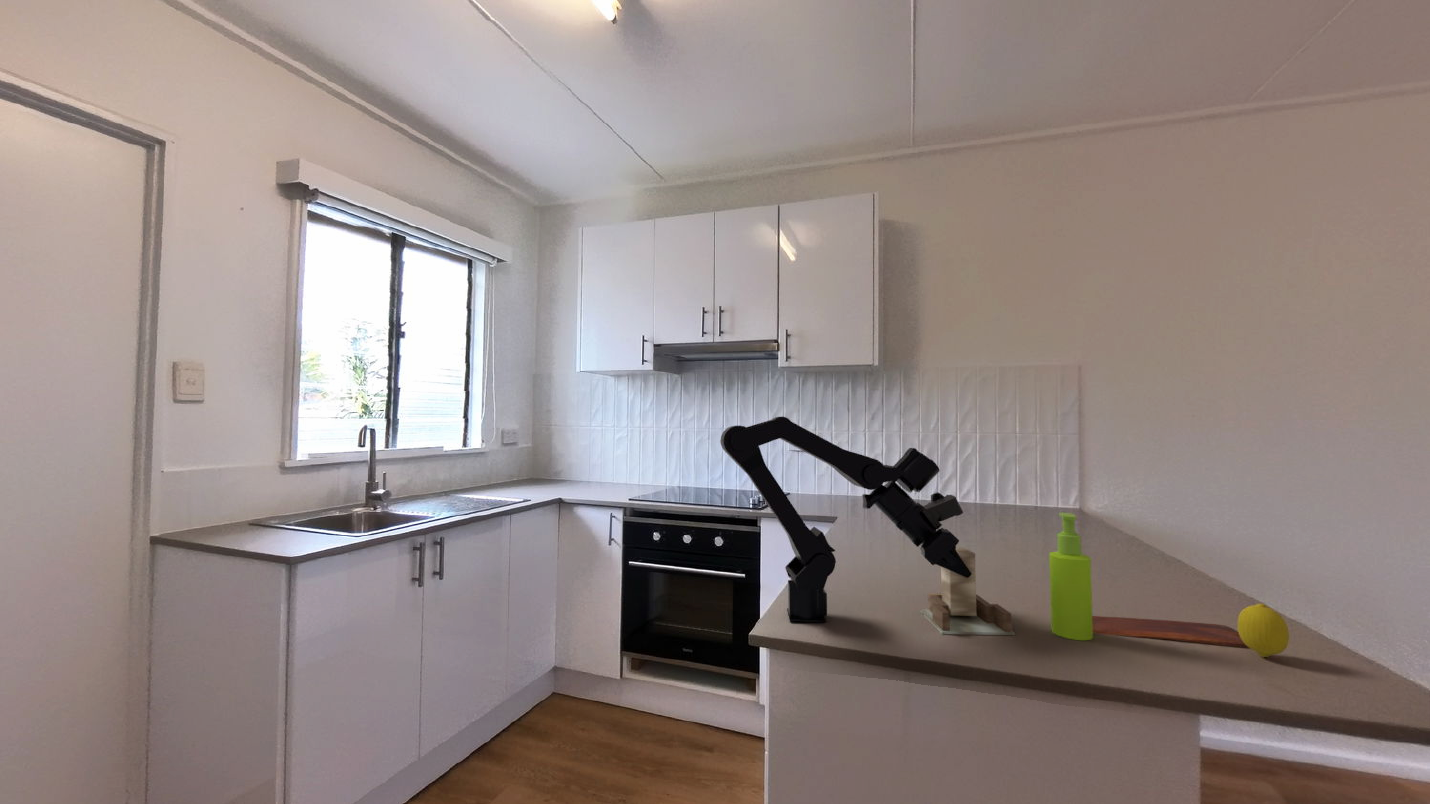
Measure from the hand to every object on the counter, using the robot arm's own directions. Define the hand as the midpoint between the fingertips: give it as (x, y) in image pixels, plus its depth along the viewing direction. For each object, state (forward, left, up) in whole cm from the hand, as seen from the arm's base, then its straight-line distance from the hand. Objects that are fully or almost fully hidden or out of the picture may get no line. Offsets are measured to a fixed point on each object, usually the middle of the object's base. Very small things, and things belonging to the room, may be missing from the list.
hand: (965, 572), depth 100 cm
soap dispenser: (+15, -6, -8) cm, 18 cm away
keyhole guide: (-1, -2, -8) cm, 9 cm away
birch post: (-1, 0, -7) cm, 7 cm away
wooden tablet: (+29, -4, -9) cm, 31 cm away
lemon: (+38, -15, -9) cm, 42 cm away
